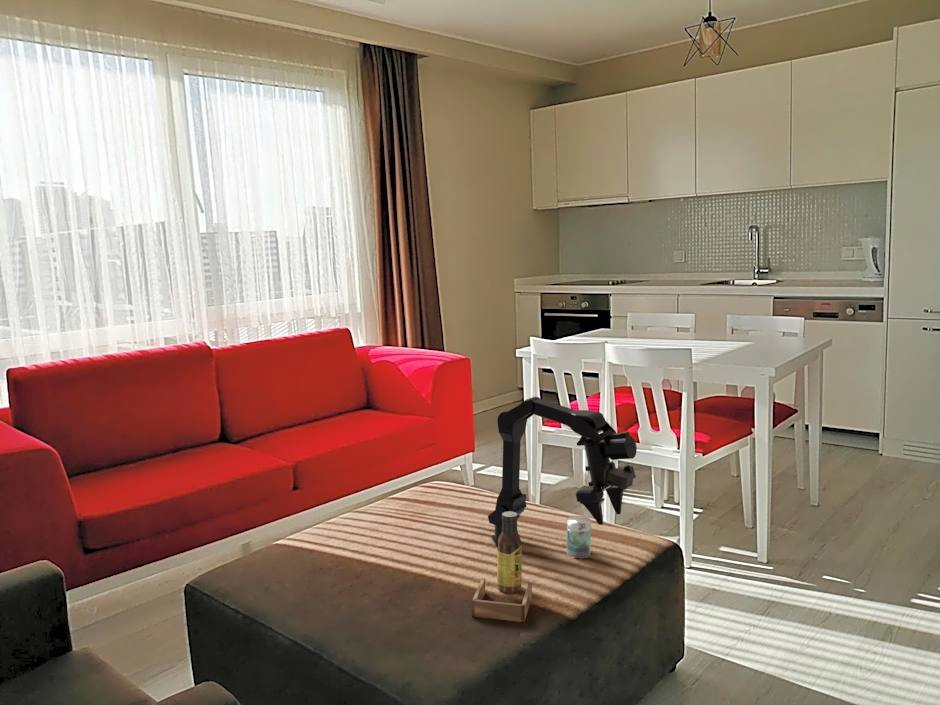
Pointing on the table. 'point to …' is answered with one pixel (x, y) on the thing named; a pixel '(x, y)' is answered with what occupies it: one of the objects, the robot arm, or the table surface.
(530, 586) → the crate
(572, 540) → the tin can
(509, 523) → the sauce bottle
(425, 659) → the table surface
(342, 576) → the table surface
